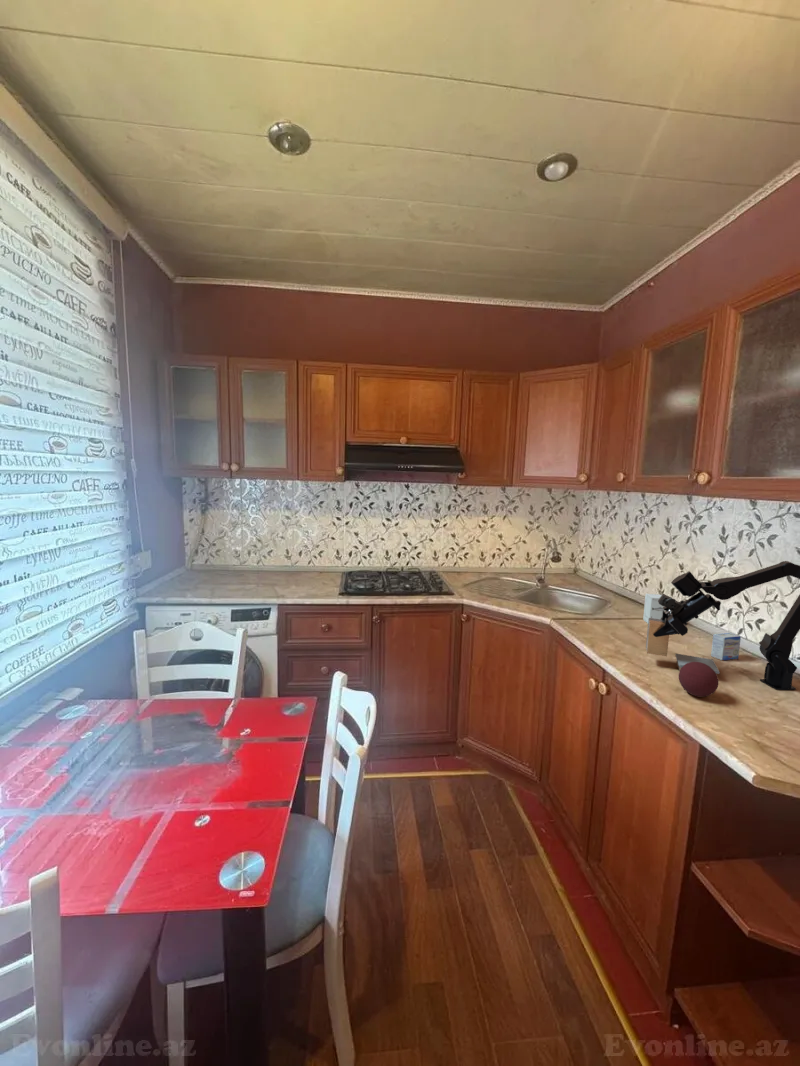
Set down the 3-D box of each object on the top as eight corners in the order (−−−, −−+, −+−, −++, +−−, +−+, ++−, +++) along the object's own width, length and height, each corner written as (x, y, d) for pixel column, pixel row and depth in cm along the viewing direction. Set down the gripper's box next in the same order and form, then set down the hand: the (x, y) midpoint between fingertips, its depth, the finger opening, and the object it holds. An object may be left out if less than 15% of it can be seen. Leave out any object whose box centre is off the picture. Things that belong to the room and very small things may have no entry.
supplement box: (648, 624, 199) (651, 597, 198) (642, 619, 206) (645, 593, 205) (666, 626, 198) (669, 598, 196) (660, 620, 205) (662, 594, 204)
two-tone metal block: (665, 650, 157) (668, 620, 156) (667, 656, 152) (670, 625, 150) (645, 647, 160) (648, 617, 158) (647, 653, 154) (649, 622, 153)
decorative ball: (670, 685, 140) (673, 655, 139) (704, 688, 139) (708, 657, 138) (687, 701, 130) (691, 669, 129) (724, 704, 129) (728, 671, 128)
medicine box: (721, 661, 160) (724, 637, 159) (710, 656, 165) (712, 633, 164) (738, 659, 163) (741, 636, 161) (726, 654, 167) (729, 632, 166)
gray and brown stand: (711, 668, 154) (712, 659, 153) (718, 681, 144) (719, 671, 144) (674, 662, 158) (675, 653, 158) (678, 674, 149) (679, 664, 148)
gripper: (672, 582, 159) (635, 607, 166) (679, 594, 143) (637, 622, 149) (696, 606, 157) (657, 631, 163) (706, 621, 140) (662, 649, 146)
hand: (653, 632), depth 155 cm, fingers closed on two-tone metal block, 6 cm apart
